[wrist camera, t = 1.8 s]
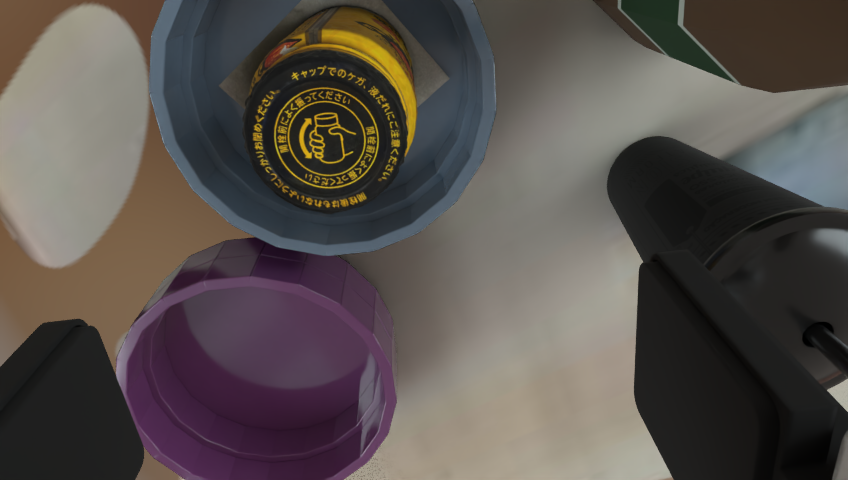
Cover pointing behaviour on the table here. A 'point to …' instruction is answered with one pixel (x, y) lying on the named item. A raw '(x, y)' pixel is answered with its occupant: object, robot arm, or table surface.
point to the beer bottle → (745, 38)
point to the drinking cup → (744, 243)
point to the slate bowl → (222, 116)
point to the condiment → (332, 102)
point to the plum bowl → (261, 366)
